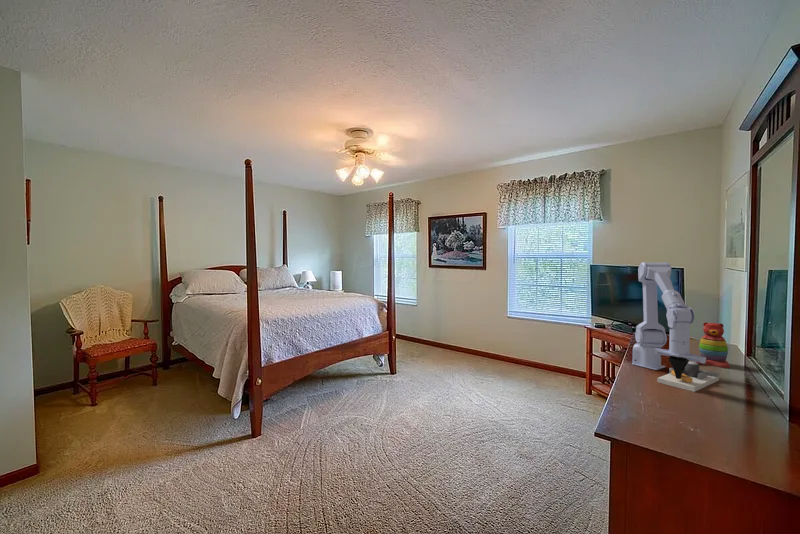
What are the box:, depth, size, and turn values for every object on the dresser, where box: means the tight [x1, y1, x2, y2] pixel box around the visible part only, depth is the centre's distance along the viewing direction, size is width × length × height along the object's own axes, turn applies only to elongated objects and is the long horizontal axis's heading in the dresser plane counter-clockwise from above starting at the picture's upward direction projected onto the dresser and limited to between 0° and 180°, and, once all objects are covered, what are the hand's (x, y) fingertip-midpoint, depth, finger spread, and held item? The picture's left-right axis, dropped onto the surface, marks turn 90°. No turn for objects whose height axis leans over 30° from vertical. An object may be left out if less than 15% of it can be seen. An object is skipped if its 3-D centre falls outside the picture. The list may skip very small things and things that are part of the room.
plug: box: [685, 360, 700, 377], centre depth 130 cm, size 4×4×5 cm
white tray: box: [656, 368, 720, 393], centre depth 129 cm, size 11×22×4 cm, turn 121°
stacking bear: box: [695, 321, 731, 369], centre depth 151 cm, size 11×10×18 cm
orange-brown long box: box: [668, 367, 692, 382], centre depth 128 cm, size 2×11×2 cm, turn 170°
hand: (678, 378), depth 126 cm, fingers closed
